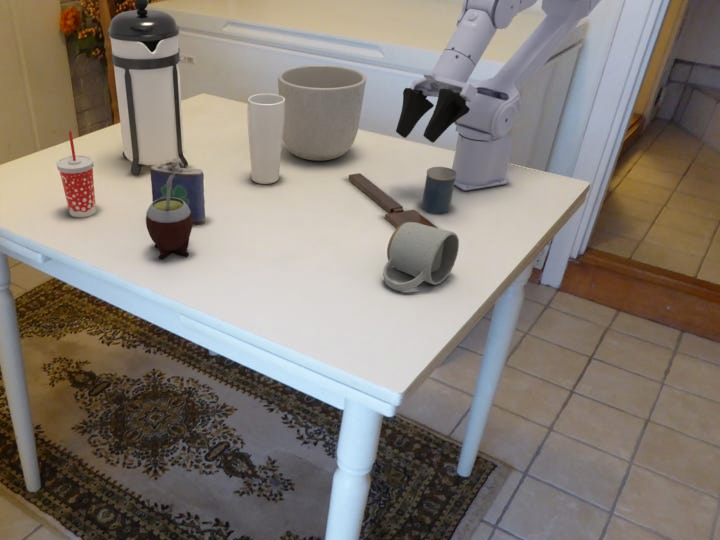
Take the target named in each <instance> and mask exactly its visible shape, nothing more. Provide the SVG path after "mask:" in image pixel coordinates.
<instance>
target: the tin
mask: <svg viewBox="0 0 720 540" xmlns="http://www.w3.org/2000/svg"><path fill="white" fill-rule="evenodd" d="M456 175H457V173H456V171H454V170H453V169H452V168H451V167H446V166H432V167H430V168H428V169H427V170H426V176H425V182H424V188H423V195H422V201H421V206H420V207H421V209H422V210H423V211H424V212H426V213H431V214H437V215H439V214H446V213H448V212H449V211H450V210H451V204H452V200H453V199H452V198H453V194H454V188H455V185H454V183H455V178H456Z"/></svg>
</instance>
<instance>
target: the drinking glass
mask: <svg viewBox="0 0 720 540" xmlns="http://www.w3.org/2000/svg"><path fill="white" fill-rule="evenodd" d="M246 110H247V113H246V114H247V116H246V117H247V118H246V120H247V132H248V133H247V135H248V145H249V146H248V147H249V156H250V157H249V158H250V178H251V180H252V181H253V182H254V183H257V184H261V185H271V184H274V183H276V182H278V180H279V179H280V170H281V169H280V168H281V167H280V166H281V160H282V159H281V158H282V151H283V150H282V149H283V143H284V142H283V134H284V125H285V98H284V97H282V96H280V95H279V94H276V93H257V94H252V95H251V96H249V97H248V98H247V109H246Z"/></svg>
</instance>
